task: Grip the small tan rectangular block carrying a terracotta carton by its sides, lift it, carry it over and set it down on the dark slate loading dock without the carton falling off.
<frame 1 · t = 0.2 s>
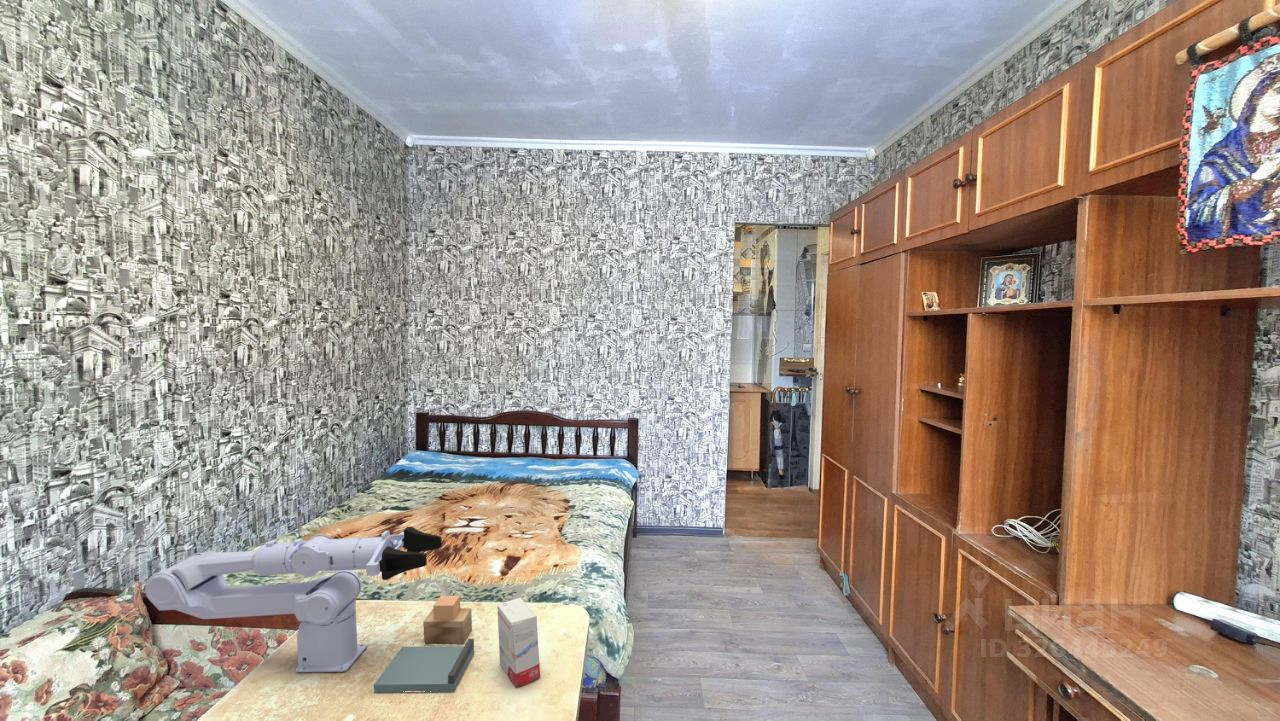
hand: (433, 550, 101), 21 cm above the table, tool horizontal, fingers open, 7 cm apart
tan rectangular block: (448, 638, 109), on the table, touching carton
dock: (426, 672, 98), on the table
carton: (447, 614, 109), point 5 cm above the table, touching tan rectangular block
ink box: (518, 672, 98), on the table
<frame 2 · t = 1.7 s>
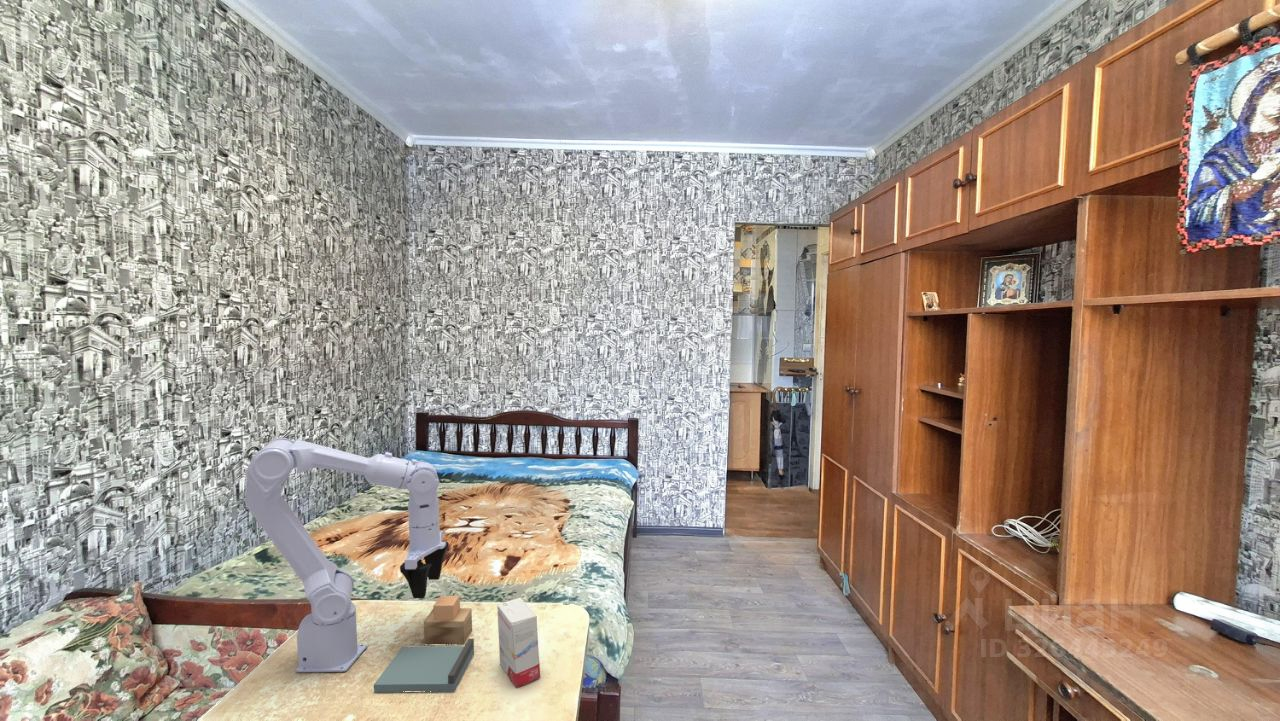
hand: (426, 587, 108), 10 cm above the table, tool pointing down, fingers open, 7 cm apart
nothing on the table moved.
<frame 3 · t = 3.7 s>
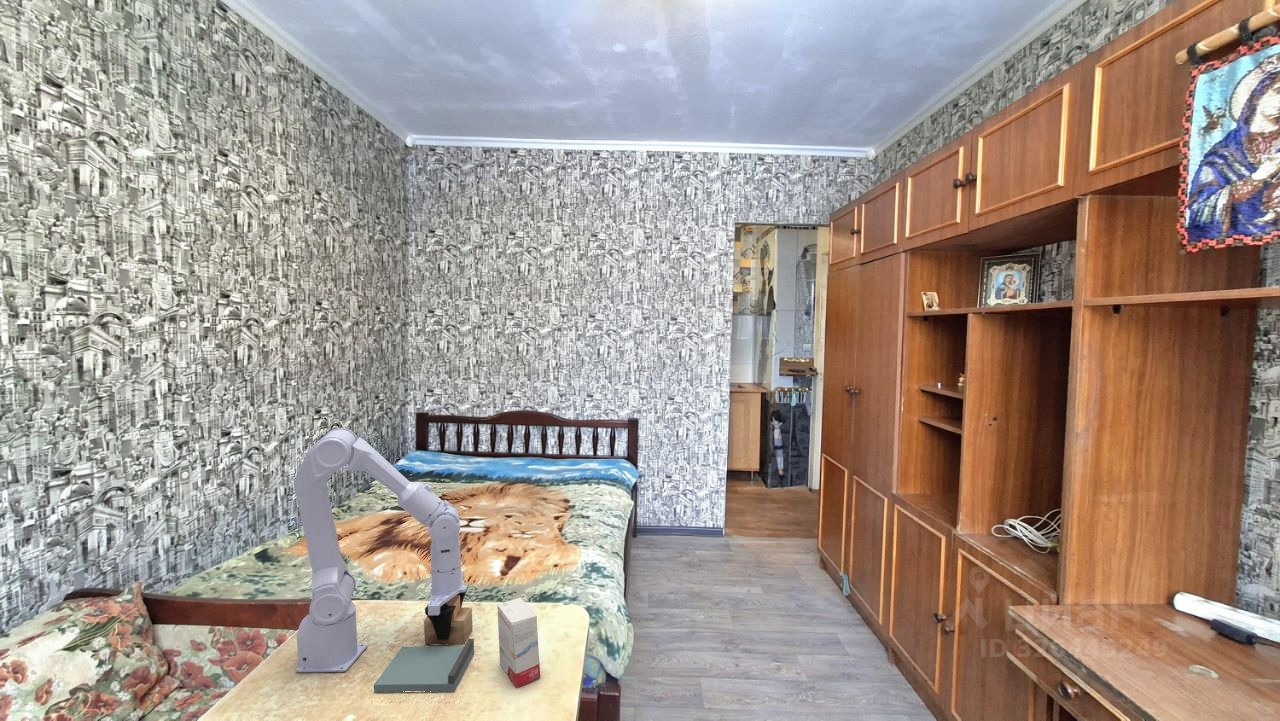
hand: (448, 630, 109), 1 cm above the table, tool pointing down, fingers closed on tan rectangular block, 5 cm apart
tan rectangular block: (449, 637, 109), on the table, touching carton, gripper
everything else where it was.
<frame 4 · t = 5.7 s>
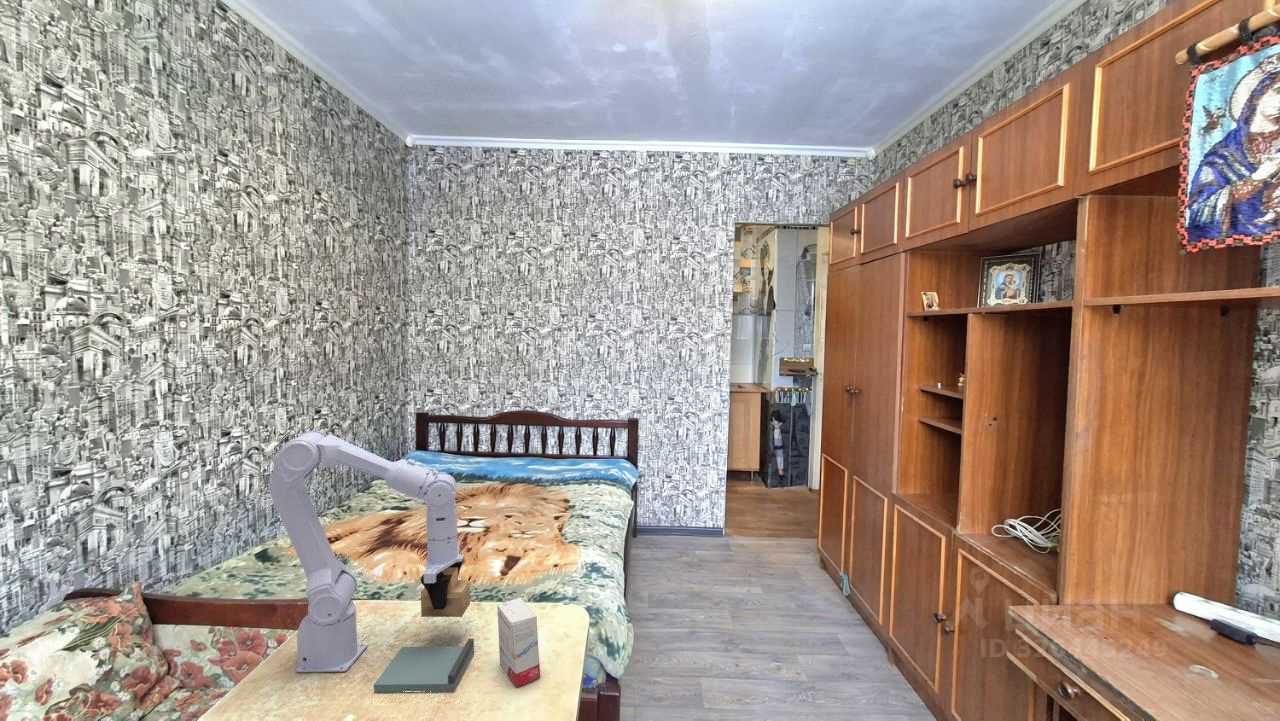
hand: (444, 601, 107), 8 cm above the table, tool pointing down, fingers closed on tan rectangular block, 5 cm apart
tan rectangular block: (446, 610, 107), point 7 cm above the table, touching carton, gripper
carton: (444, 586, 107), point 12 cm above the table, touching tan rectangular block
everything else where it was.
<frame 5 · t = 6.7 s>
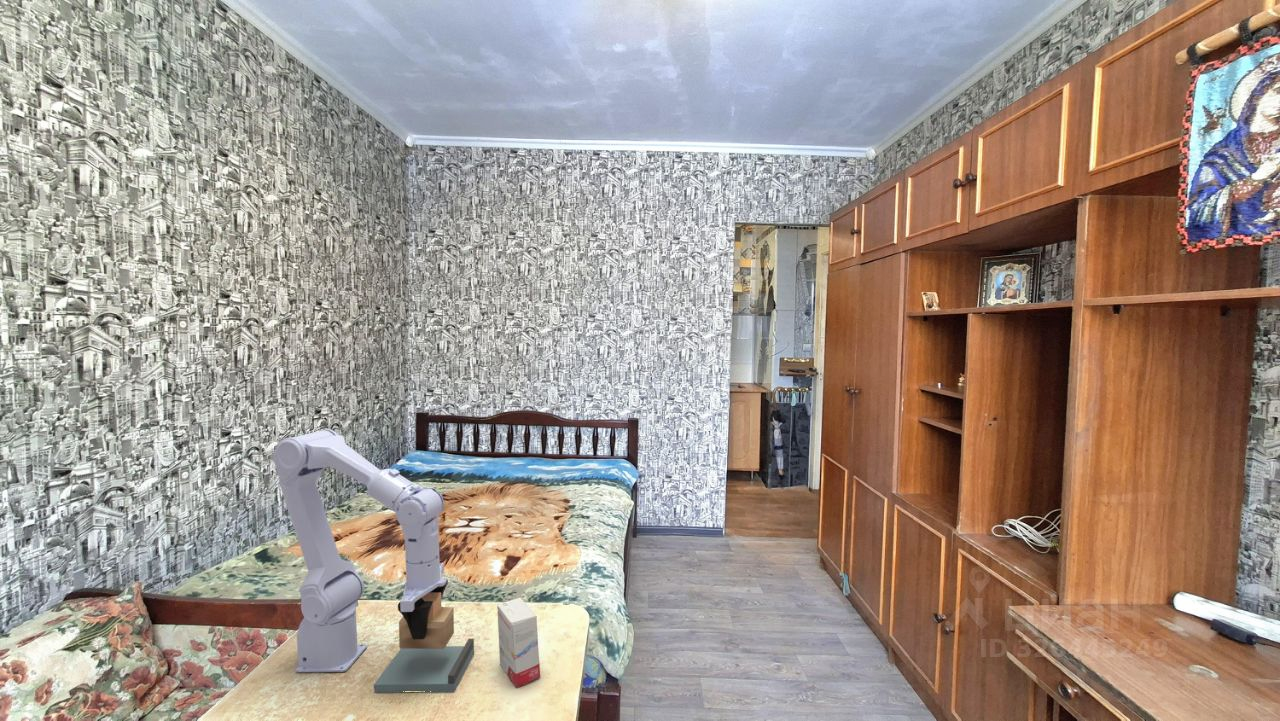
hand: (425, 629, 97), 8 cm above the table, tool pointing down, fingers closed on tan rectangular block, 5 cm apart
tan rectangular block: (427, 640, 98), point 6 cm above the table, touching carton, gripper
carton: (426, 613, 97), point 11 cm above the table, touching tan rectangular block
everything else where it was.
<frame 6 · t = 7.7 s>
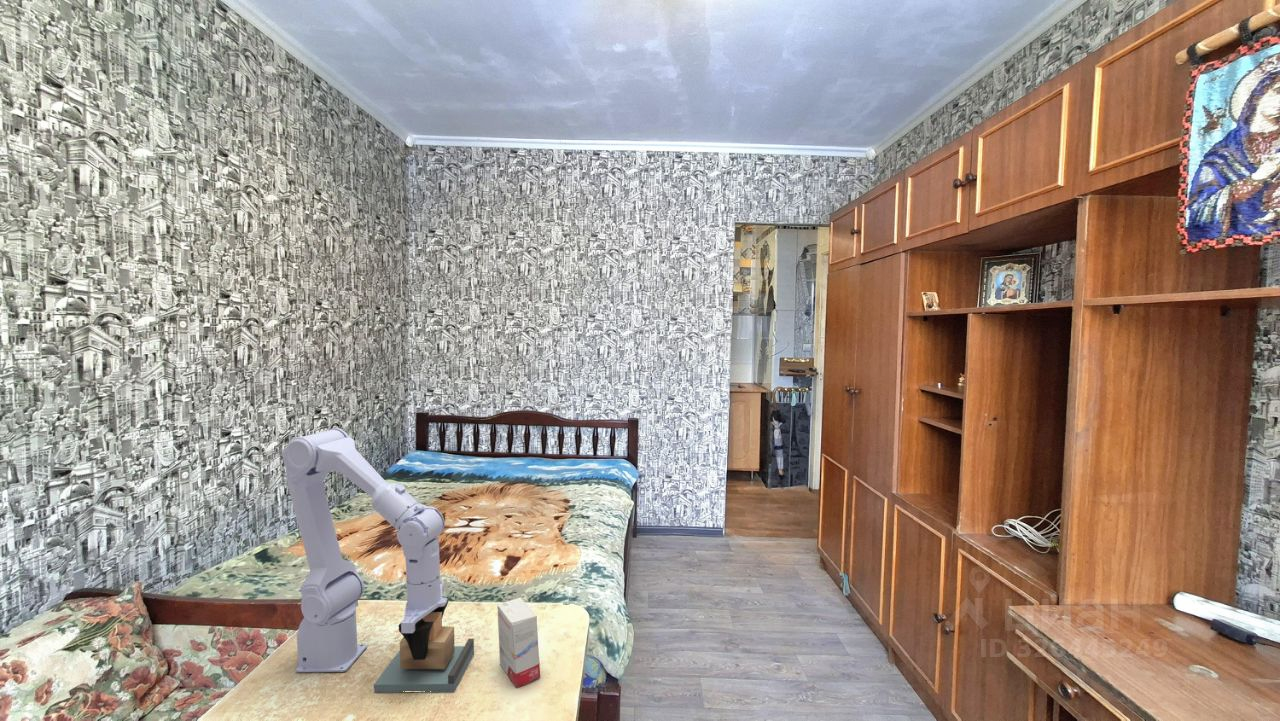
hand: (426, 649, 98), 4 cm above the table, tool pointing down, fingers closed on tan rectangular block, 5 cm apart
tan rectangular block: (428, 660, 98), point 2 cm above the table, touching carton, gripper
carton: (427, 633, 98), point 7 cm above the table, touching tan rectangular block
everything else where it was.
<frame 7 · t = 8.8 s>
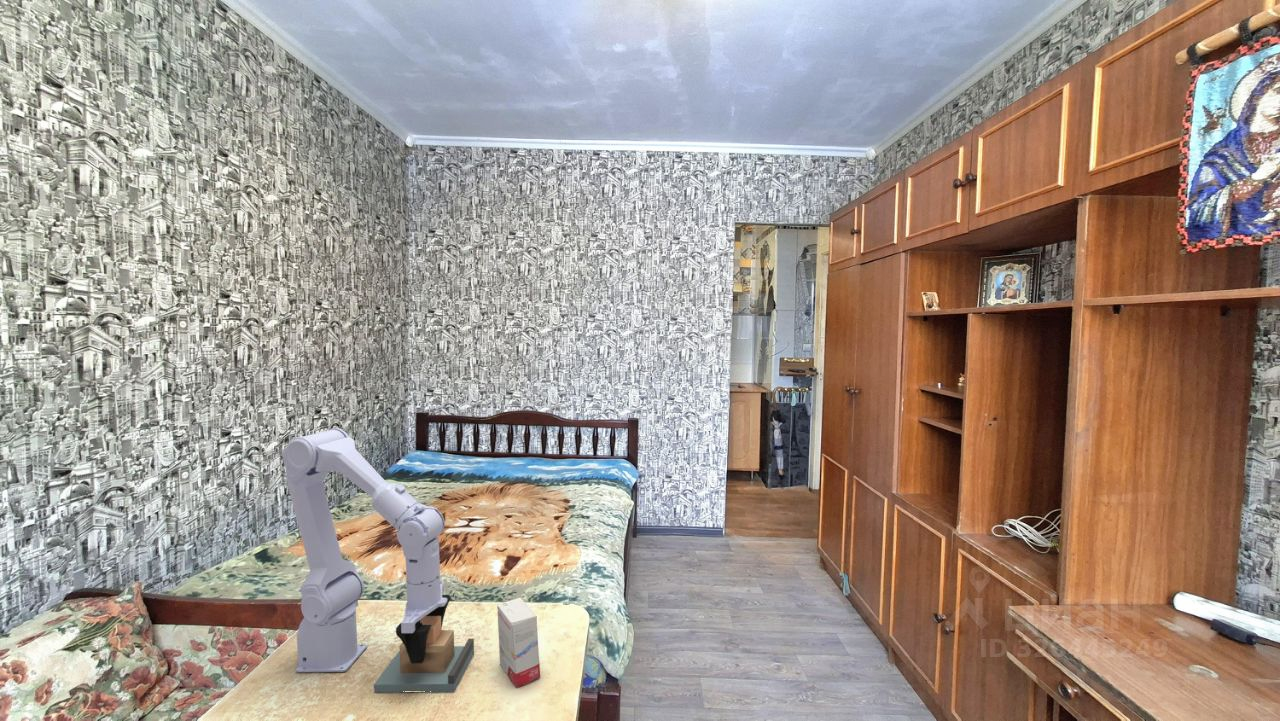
hand: (426, 649, 98), 4 cm above the table, tool pointing down, fingers open, 7 cm apart
tan rectangular block: (428, 664, 98), point 1 cm above the table, touching carton, dock
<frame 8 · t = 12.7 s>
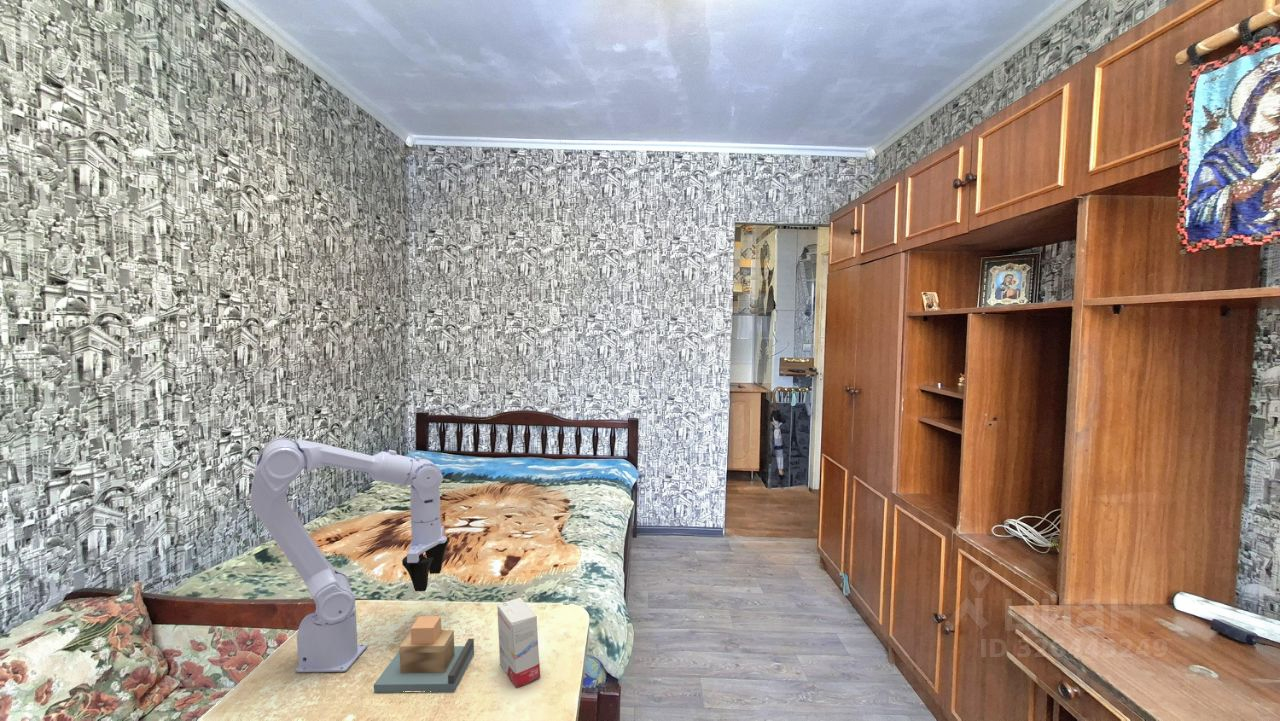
hand: (428, 581, 111), 10 cm above the table, tool pointing down, fingers open, 7 cm apart
nothing on the table moved.
at the end: tan rectangular block inside the target area on the dock (0.3 cm from its centre), point 1.5 cm above the dock's base; carton 0.1 cm off-centre on the tan rectangular block, point 5.0 cm above the tan rectangular block's base; the gripper is holding nothing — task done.
